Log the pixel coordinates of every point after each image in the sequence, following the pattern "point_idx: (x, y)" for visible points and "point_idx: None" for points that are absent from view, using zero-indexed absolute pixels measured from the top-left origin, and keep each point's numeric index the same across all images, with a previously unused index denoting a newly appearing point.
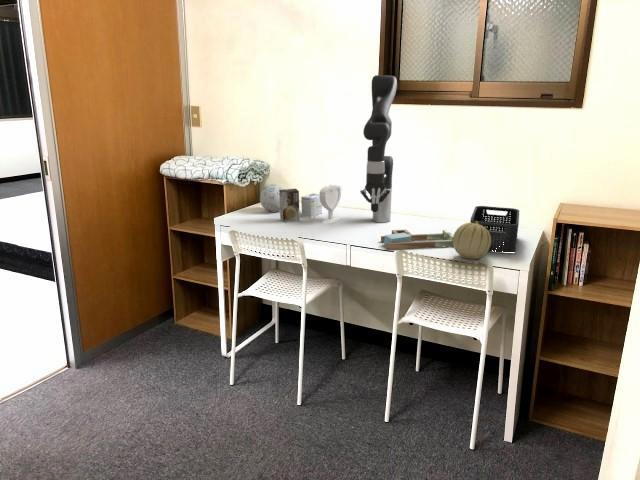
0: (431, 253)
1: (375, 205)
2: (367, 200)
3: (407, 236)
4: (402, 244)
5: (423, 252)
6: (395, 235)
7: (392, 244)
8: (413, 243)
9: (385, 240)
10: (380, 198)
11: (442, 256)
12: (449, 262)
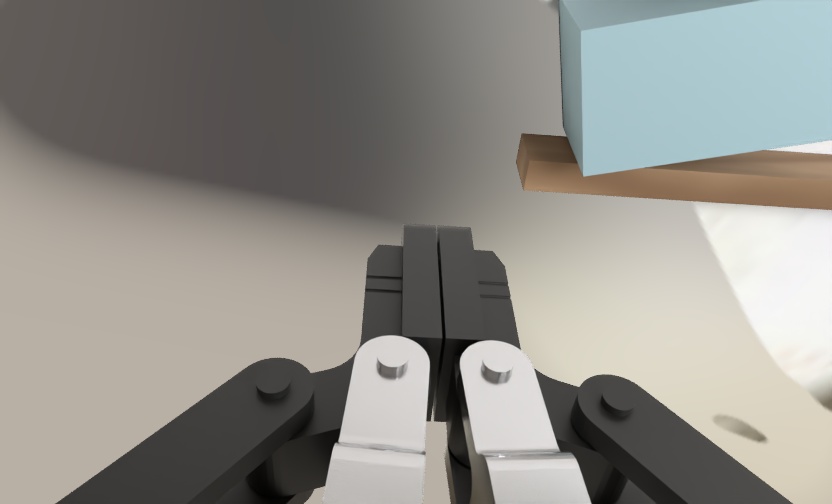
0: (784, 300)
1: (435, 394)
2: (227, 497)
3: (793, 139)
4: (657, 194)
5: (747, 272)
6: (695, 74)
7: (561, 190)
8: (764, 202)
9: (569, 34)
10: (614, 465)
11: (802, 357)
12: (754, 434)
